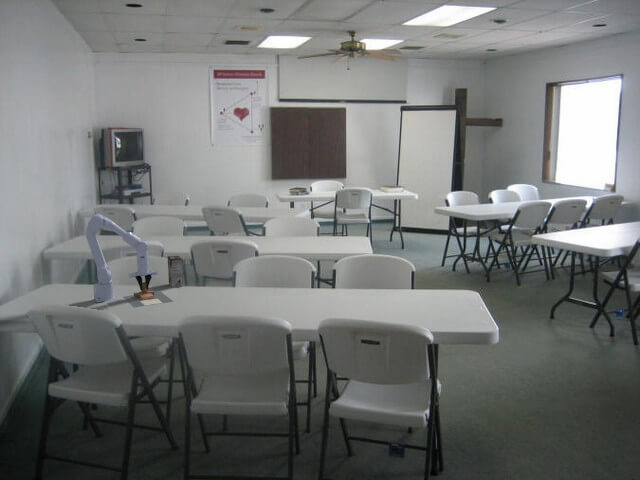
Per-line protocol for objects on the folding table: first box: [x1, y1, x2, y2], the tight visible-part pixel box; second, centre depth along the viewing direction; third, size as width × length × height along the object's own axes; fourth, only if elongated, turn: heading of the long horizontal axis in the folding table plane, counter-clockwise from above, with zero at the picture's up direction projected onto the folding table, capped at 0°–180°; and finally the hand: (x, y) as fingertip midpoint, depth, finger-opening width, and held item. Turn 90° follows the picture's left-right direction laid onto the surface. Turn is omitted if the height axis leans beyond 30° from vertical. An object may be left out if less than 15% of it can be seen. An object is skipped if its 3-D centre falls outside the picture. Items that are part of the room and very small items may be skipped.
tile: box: [139, 293, 154, 300], centre depth 318 cm, size 6×6×2 cm
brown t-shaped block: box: [133, 281, 155, 298], centre depth 321 cm, size 10×2×7 cm, turn 122°
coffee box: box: [167, 255, 184, 288], centre depth 344 cm, size 9×6×16 cm
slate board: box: [122, 291, 174, 308], centre depth 316 cm, size 20×22×1 cm
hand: (144, 289), depth 321 cm, fingers closed on brown t-shaped block, 2 cm apart
